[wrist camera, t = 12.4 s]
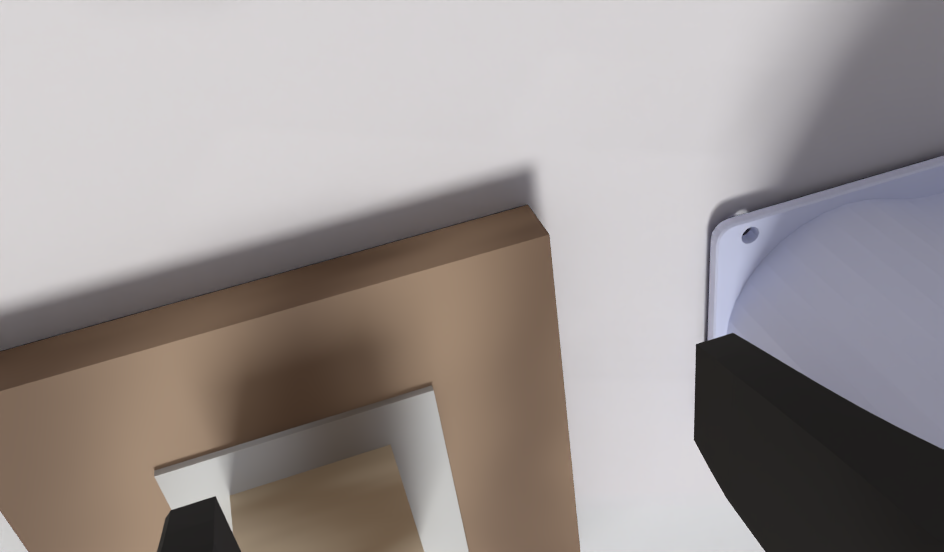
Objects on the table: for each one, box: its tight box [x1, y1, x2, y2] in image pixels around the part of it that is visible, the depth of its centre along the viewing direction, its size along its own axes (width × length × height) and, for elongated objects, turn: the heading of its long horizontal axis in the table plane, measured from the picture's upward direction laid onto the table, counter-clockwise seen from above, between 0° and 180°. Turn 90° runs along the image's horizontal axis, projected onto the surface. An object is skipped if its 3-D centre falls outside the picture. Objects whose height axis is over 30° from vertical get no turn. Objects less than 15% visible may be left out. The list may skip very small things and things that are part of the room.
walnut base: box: [0, 205, 580, 552], centre depth 24 cm, size 14×14×2 cm
